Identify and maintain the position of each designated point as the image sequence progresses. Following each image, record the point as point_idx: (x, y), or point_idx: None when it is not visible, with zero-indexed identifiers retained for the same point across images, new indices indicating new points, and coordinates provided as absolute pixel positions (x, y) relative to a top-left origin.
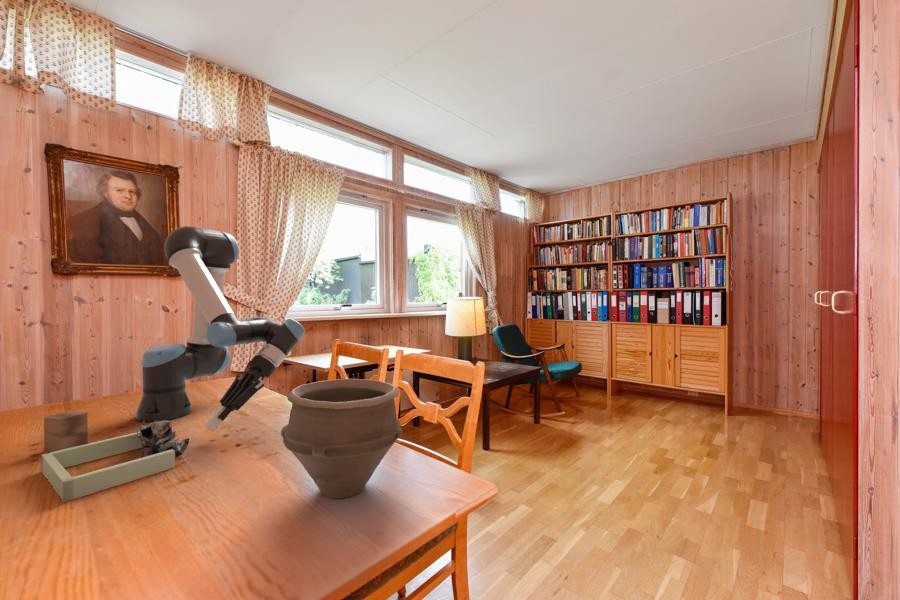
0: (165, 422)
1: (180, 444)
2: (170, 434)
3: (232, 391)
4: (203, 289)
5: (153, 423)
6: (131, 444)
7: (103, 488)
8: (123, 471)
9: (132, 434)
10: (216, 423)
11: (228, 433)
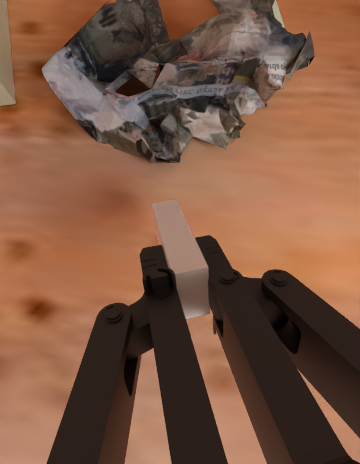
0: (226, 51)
1: (126, 129)
2: (162, 85)
3: (292, 372)
4: None
5: (237, 16)
6: None
7: None
8: None
9: None
10: (160, 244)
11: (210, 313)
